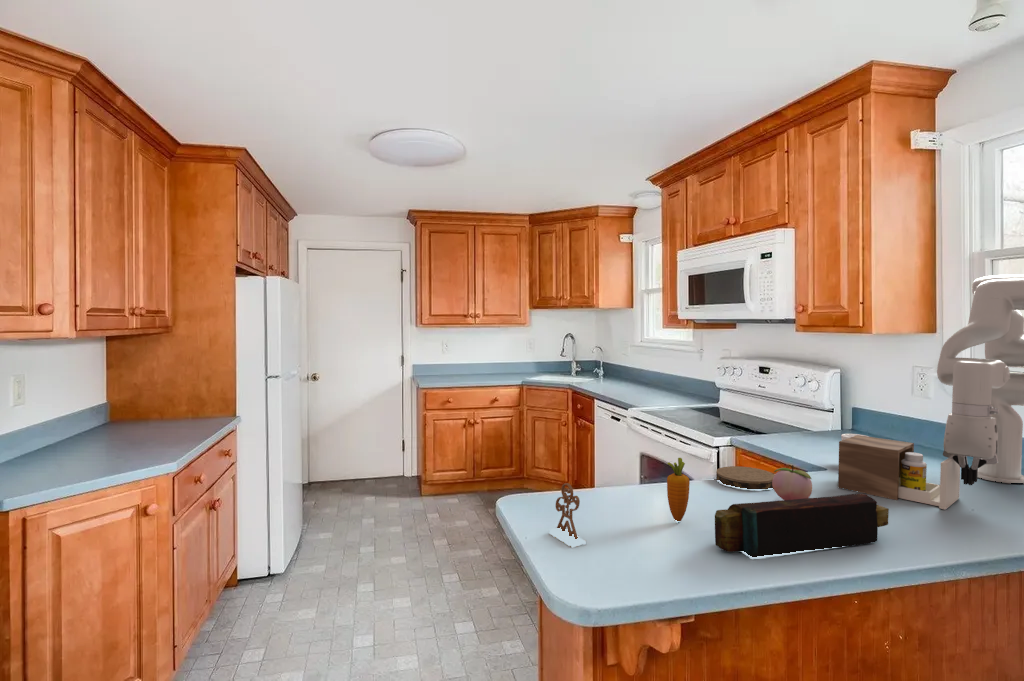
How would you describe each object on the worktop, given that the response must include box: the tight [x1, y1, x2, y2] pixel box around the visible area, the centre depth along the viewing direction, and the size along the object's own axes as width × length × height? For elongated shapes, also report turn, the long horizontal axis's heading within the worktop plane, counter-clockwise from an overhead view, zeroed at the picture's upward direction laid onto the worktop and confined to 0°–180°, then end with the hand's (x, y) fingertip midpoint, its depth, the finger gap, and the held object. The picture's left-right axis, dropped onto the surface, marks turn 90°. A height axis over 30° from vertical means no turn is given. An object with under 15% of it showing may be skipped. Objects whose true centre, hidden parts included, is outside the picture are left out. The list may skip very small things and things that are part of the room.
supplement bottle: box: [900, 451, 928, 491], centre depth 148 cm, size 6×6×10 cm
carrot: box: [666, 457, 691, 522], centre depth 128 cm, size 5×5×15 cm
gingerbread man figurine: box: [555, 482, 581, 539], centre depth 119 cm, size 9×4×12 cm, turn 29°
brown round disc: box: [715, 465, 775, 489], centre depth 161 cm, size 16×16×3 cm
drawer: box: [898, 458, 961, 510], centre depth 147 cm, size 14×14×11 cm
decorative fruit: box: [772, 465, 813, 500], centre depth 142 cm, size 9×8×10 cm
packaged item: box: [714, 492, 890, 557], centre depth 117 cm, size 39×10×10 cm, turn 104°
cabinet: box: [837, 434, 915, 501], centre depth 155 cm, size 14×14×13 cm
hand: (968, 483), depth 139 cm, fingers closed
